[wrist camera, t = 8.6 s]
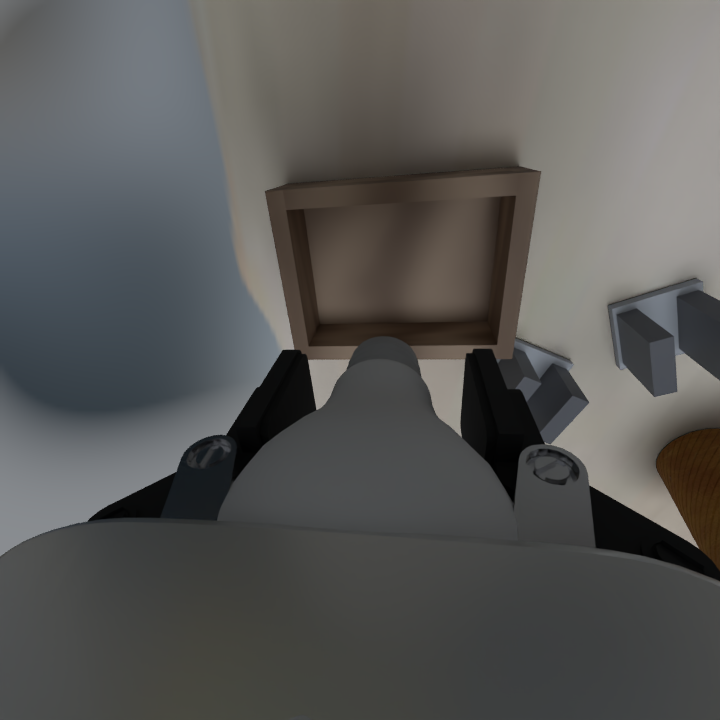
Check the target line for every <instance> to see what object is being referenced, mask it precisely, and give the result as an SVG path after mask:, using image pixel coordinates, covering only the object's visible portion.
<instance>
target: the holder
mask: <svg viewBox="0 0 720 720" xmlns="http://www.w3.org/2000/svg"><path fill="white" fill-rule="evenodd" d="M540 174H541V171H537V170H532V169H528V168H524V167H507V168H493V169H480V170H466V171H453V172H439V173H426V174H412V175H399V176H385V177H372V178H358V179H345V180H331V181H318V182H304V183H291V184H285V185H282V186H279V187H276V188H273V189H270V190H267V191H265V194H266V200H267V205H268V210H269V216H270V221H271V226H272V232H273V237H274V242H275V248H276V253H277V258H278V264H279V269H280V274H281V280H282V285H283V290H284V295H285V301H286V306H287V311H288V317H289V322H290V327H291V333H292V338H293V343H294V349H295V350H300V351H301V352H302V354H306V355H307V358H308V360H313V359H351V357H352V355H353V353H354V351H355V349H356V348H357V347H358V346H359V345H360V344H361V343H363V342H364V341H366V340H368V339H370V338H374V337H380V336H388V337H393V338H397V339H399V340H401V341H403V342H405V343H406V344H408V345H409V346H410V347H411V348H412V350H413V351H414V353H415V354H416V357H417V359H465V358H466V353H472V351H473V349H490V348H491V349H492V350H493V352H494V355H495V358H496V359H512V356H513V350H514V343H515V337H516V330H517V324H518V317H519V311H520V304H521V298H522V291H523V285H524V278H525V272H526V265H527V259H528V252H529V246H530V239H531V233H532V226H533V220H534V213H535V207H536V200H537V194H538V187H539V181H540Z"/></svg>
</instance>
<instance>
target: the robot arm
mask: <svg viewBox="0 0 720 720" xmlns="http://www.w3.org/2000/svg"><path fill="white" fill-rule="evenodd" d="M314 411H316V405H315V399H314V393H313V387H312V382H311V376H310V370H309V364H308V358H307V355H306V354H302V352H301V351H300V350H283V351H282V352H281V354H280V355H279V357H278V359H277V360H276V362H275V363H274V365H273V366H272V368H271V370H270V371H269V373H268V375H267V376H266V378H265V379H264V381H263V383H262V384H261V386H260V387H257V388H256V389H255V391H254V392H253V394H252V395H251V397H250V398H249V400H248V402H247V403H246V405H245V406H244V408H243V410H242V411H241V413H240V414H239V416H238V417H237V419H236V420H235V422H234V424H233V425H232V427H231V428H230V430H229V431H228V433H227V435H213V436H210V437H206V438H204V439H201V440H199V441H197V442H196V443H194V444H193V445H191V446H190V447H189V448H188V449H187V450H186V451H185V452H184V454H183V456H182V458H181V461H180V463H179V466H178V469H177V472H175V473H173V474H171V475H169V476H167V477H165V478H163V479H161V480H159V481H157V482H155V483H153V484H151V485H149V486H147V487H145V488H143V489H141V490H139V491H137V492H135V493H133V494H131V495H129V496H127V497H125V498H123V499H121V500H119V501H117V502H115V503H113V504H111V505H109V506H107V507H105V508H104V509H102V510H100V511H99V512H97V513H96V514H95V515H94V516H92V517H91V518H90V519H89V520H88V521H87V522H83V523H76V524H73V525H69V526H65V527H61V528H58V529H54V530H51V531H48V532H45V533H42V534H40V535H38V536H35V537H33V538H30V539H28V540H26V541H23V542H22V543H20V544H19V545H17V546H15V547H13V548H12V549H10V550H9V551H7V552H6V553H5V554H3V555H2V556H0V720H720V571H719V569H718V568H717V566H716V565H715V564H714V562H713V561H712V560H711V559H710V558H709V557H708V556H707V555H706V554H704V553H703V552H702V551H701V550H700V549H698V548H697V547H695V546H694V545H692V544H691V543H689V542H688V541H686V540H684V539H683V538H681V537H679V536H677V535H676V534H674V533H672V532H670V531H669V530H667V529H665V528H663V527H662V526H660V525H658V524H656V523H654V522H653V521H651V520H649V519H647V518H646V517H644V516H642V515H640V514H639V513H637V512H635V511H633V510H632V509H630V508H628V507H626V506H625V505H623V504H621V503H619V502H618V501H616V500H614V499H612V498H610V497H609V496H607V495H605V494H603V493H602V492H600V491H598V490H596V489H595V488H593V487H591V486H589V480H588V473H587V470H586V467H585V466H584V464H583V463H582V462H581V460H580V459H579V458H577V457H576V456H575V455H573V454H572V453H570V452H568V451H566V450H565V449H563V448H559V447H556V446H553V445H545V443H544V441H543V438H542V436H541V434H540V432H539V429H538V427H537V425H536V422H535V420H534V418H533V415H532V413H531V411H530V409H529V406H528V404H527V402H526V399H525V397H524V395H523V393H522V391H521V390H520V389H507V387H506V384H505V381H504V379H503V376H502V374H501V371H500V368H499V366H498V363H497V360H496V358H495V355H494V352H493V350H492V349H491V348H490V349H473V351H472V353H466V358H465V371H464V384H463V396H462V409H461V433H462V439H464V440H465V441H466V442H467V443H468V444H469V445H470V446H471V447H472V448H473V449H474V450H475V451H476V452H477V453H478V454H479V455H480V456H481V457H482V458H483V459H484V460H485V461H487V462H488V463H489V465H490V466H491V468H492V469H493V471H494V472H495V474H496V475H497V477H498V479H499V480H500V482H501V483H502V485H503V487H504V488H505V490H506V492H507V493H508V495H509V497H510V498H511V500H512V502H513V504H514V515H515V519H516V522H517V533H518V541H516V540H504V539H490V538H476V537H462V536H447V535H433V534H417V533H390V532H369V531H351V530H335V529H323V528H310V527H299V526H290V525H279V524H265V523H248V522H231V521H217V518H218V514H219V511H220V508H221V506H222V504H223V502H224V500H225V498H226V496H227V494H228V492H229V490H230V488H231V486H232V484H233V482H234V481H235V480H236V478H237V477H238V476H239V474H240V473H241V472H242V471H243V469H244V468H245V467H246V465H247V464H248V463H249V462H250V461H251V460H252V458H253V457H254V456H255V455H256V454H257V452H258V451H259V450H260V449H261V448H262V447H263V445H265V444H266V443H267V442H269V441H270V440H271V439H272V438H274V437H275V436H276V435H278V434H279V433H280V432H282V431H283V430H285V429H286V428H288V427H289V426H291V425H292V424H294V423H295V422H297V421H298V420H300V419H301V418H303V417H304V416H306V415H308V414H310V413H312V412H314Z"/></svg>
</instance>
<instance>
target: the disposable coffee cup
mask: <svg viewBox="0 0 720 720" xmlns="http://www.w3.org/2000/svg"><path fill="white" fill-rule="evenodd" d="M656 468H657V471H658V473H659V474H660V476H661V478H662V480H663V482H664V484H665V486H666V487H667V489H668V491H669V493H670V495H671V497H672V499H673V501H674V502H675V504H676V506H677V508H678V510H679V512H680V514H681V516H682V517H683V519H684V521H685V523H686V525H687V527H688V529H689V530H690V532H691V534H692V536H693V538H694V540H695V541H696V543H697V545H698V547H699V549H700V550H701V551H702V552H703V553H704V554H706V555H707V556H708V557H709V558H710V559H711V560H712V561H713V562H714V564H715V565H716V566H717V568H718V569H719V571H720V429H705V430H699V431H695V432H691V433H688V434H686V435H684V436H681V437H679V438H677V439H676V440H674V441H672V442H671V443H670V444H668V445H667V446H666V447H665V448H664V449H663V450H662V451H661V453H660V454H659V456H658V458H657V461H656Z"/></svg>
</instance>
